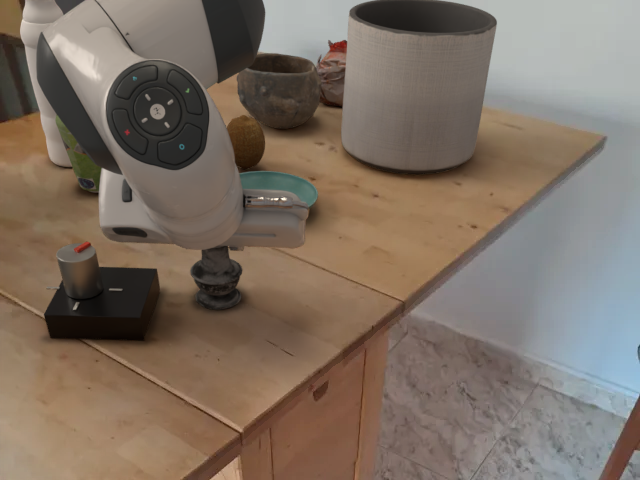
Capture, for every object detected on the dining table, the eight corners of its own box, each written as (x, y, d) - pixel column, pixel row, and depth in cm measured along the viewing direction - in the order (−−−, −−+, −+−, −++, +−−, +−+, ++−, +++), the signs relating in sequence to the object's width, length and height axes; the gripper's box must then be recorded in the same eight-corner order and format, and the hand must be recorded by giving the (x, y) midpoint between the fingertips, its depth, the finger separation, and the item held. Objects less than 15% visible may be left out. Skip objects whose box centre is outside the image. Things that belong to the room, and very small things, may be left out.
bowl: (292, 145, 115) (292, 81, 108) (219, 125, 120) (215, 62, 113) (335, 121, 123) (337, 60, 117) (264, 103, 129) (263, 44, 122)
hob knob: (85, 303, 73) (75, 263, 70) (57, 292, 74) (46, 252, 71) (111, 286, 76) (103, 246, 72) (83, 276, 77) (74, 236, 74)
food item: (353, 111, 128) (357, 52, 121) (311, 106, 129) (312, 48, 122) (363, 88, 137) (367, 33, 131) (324, 84, 138) (326, 29, 132)
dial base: (39, 337, 73) (32, 313, 71) (65, 287, 81) (59, 263, 78) (144, 341, 73) (139, 316, 71) (160, 290, 81) (156, 267, 79)
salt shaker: (252, 291, 81) (249, 194, 73) (227, 316, 77) (220, 216, 69) (210, 279, 83) (202, 182, 75) (183, 302, 79) (171, 203, 71)
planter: (411, 119, 126) (426, -8, 112) (501, 160, 113) (530, 22, 99) (314, 143, 116) (317, 6, 102) (400, 191, 103) (417, 42, 89)
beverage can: (130, 185, 101) (116, 100, 93) (92, 203, 97) (74, 114, 88) (100, 174, 104) (84, 90, 95) (62, 191, 99) (42, 103, 91)
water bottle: (60, 172, 104) (15, -22, 87) (43, 156, 108) (-3, -32, 91) (104, 162, 107) (69, -27, 90) (86, 147, 111) (50, -37, 94)
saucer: (336, 220, 95) (337, 202, 93) (240, 243, 90) (239, 224, 88) (287, 180, 104) (287, 163, 103) (197, 198, 99) (195, 180, 97)
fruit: (236, 157, 110) (234, 105, 105) (272, 164, 109) (271, 111, 103) (218, 172, 106) (214, 118, 100) (255, 179, 104) (253, 125, 99)
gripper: (310, 167, 63) (309, 218, 76) (84, 158, 62) (125, 211, 76) (308, 235, 62) (307, 274, 76) (82, 227, 62) (122, 268, 76)
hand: (215, 243), depth 76 cm, fingers closed on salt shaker, 3 cm apart
